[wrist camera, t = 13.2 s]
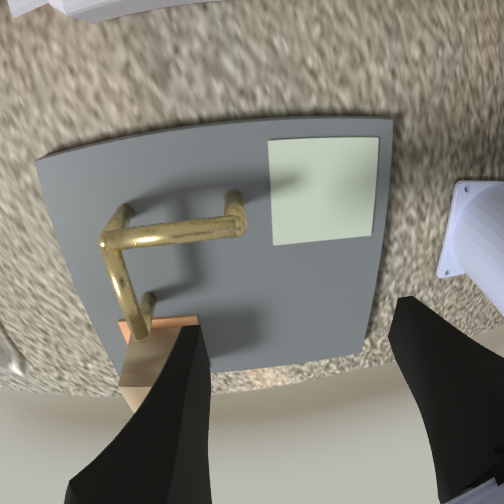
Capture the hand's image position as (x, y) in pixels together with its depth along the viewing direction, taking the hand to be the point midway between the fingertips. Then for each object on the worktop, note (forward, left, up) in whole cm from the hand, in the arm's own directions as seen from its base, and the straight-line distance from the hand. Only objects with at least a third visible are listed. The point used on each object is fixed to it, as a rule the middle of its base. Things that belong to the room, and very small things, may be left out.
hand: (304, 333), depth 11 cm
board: (+3, +3, -9) cm, 10 cm away
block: (+8, +9, -8) cm, 14 cm away
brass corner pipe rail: (+5, +1, -8) cm, 10 cm away
